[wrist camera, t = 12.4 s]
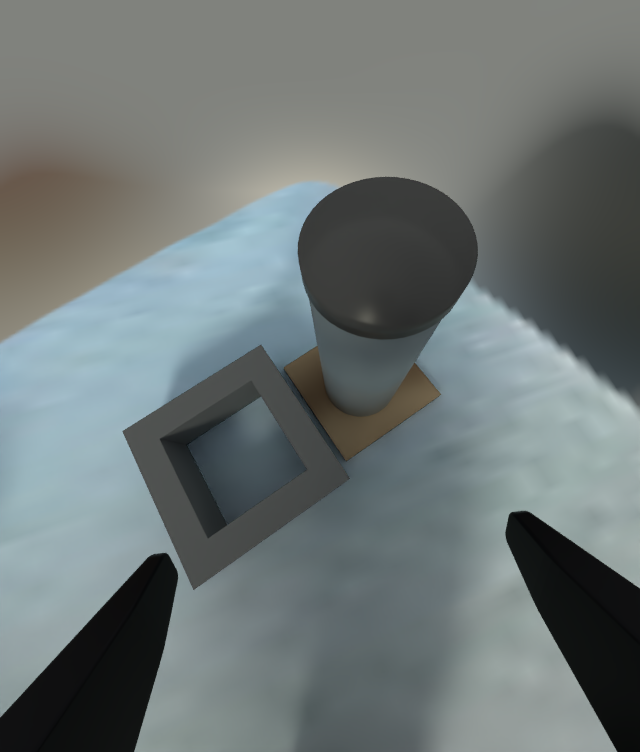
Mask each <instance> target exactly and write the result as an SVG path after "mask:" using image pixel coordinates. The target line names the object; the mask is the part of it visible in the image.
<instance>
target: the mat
mask: <svg viewBox="0 0 640 752" xmlns="http://www.w3.org/2000/svg"><path fill="white" fill-rule="evenodd" d="M284 370H285V371H286V373H287V374H288V376H289V377H290V379H291V380H292V382H293V383H294V385H295V386H296V388H297V389H298V391H299V392H300V393H301V395H302V396H303V398H304V399H305V401H306V402H307V404H308V405H309V407H310V408H311V410H312V411H313V413H314V414H315V416H316V417H317V419H318V420H319V422H320V423H321V425H322V426H323V428H324V429H325V431H326V432H327V434H328V435H329V437H330V438H331V440H332V441H333V443H334V444H335V446H336V447H337V449H338V450H339V452H340V453H341V454H342V456H343V457H344V459H345V460H346V461H347V460H349V459H350V458H352V457H353V456H355V455H356V454H357V453H359V452H360V451H362V450H363V449H364V448H366V447H367V446H369V445H370V444H372V443H373V442H374V441H376V440H377V439H379V438H380V437H382V436H383V435H384V434H386V433H387V432H389V431H390V430H392V429H393V428H394V427H396V426H397V425H399V424H400V423H401V422H403V421H404V420H406V419H407V418H409V417H410V416H411V415H413V414H414V413H416V412H417V411H419V410H420V409H421V408H423V407H424V406H426V405H427V404H429V403H430V402H431V401H433V400H434V399H436V398H437V397H439V396H440V395H441V394H440V393H439V391H438V390H437V389H436V388H435V387H434V385H433V384H432V383H431V382H430V381H429V379H428V378H427V377H426V376H425V375H424V373H423V372H422V371H421V370H420V369H419V367H418V366H417V365H416V364H415V363H414V364H413V366H412V367H411V369H410V370H409V372H408V374H407V375H406V377H405V378H404V380H403V382H402V383H401V385H400V386H399V388H398V390H397V391H396V393H395V394H394V396H393V398H392V399H391V401H390V402H389V403H388V405H387V406H386V407H385V408H384V409H382V410H381V411H379V412H378V413H375V414H373V415H370V416H364V417H358V416H352V415H348V414H346V413H344V412H342V411H340V410H339V409H338V408H336V407H335V406H334V405H333V403H332V402H331V401H330V399H329V397H328V395H327V393H326V389H325V384H324V378H323V373H322V367H321V362H320V356H319V351H318V346H316V347H315V348H313V349H312V350H310V351H309V352H307V353H305V354H304V355H302V356H301V357H299V358H298V359H296V360H295V361H293V362H291V363H290V364H288V365H287V366H285V367H284Z"/></svg>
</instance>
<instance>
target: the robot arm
mask: <svg viewBox="0 0 640 752" xmlns="http://www.w3.org/2000/svg"><path fill="white" fill-rule="evenodd" d="M505 535H506V540H507V543H508V545H509V548H510V550H511V552H512V554H513V556H514V559H515V561H516V563H517V565H518V568H519V570H520V572H521V574H522V576H523V579H524V581H525V583H526V585H527V588H528V590H529V592H530V594H531V597H532V599H533V601H534V603H535V605H536V607H537V609H538V611H539V613H540V615H541V616H542V618H543V620H544V622H545V624H546V625H547V627H548V629H549V631H550V633H551V634H552V636H553V638H554V640H555V642H556V643H557V645H558V647H559V649H560V650H561V652H562V654H563V656H564V658H565V659H566V661H567V663H568V665H569V666H570V668H571V670H572V672H573V674H574V675H575V677H576V679H577V681H578V683H579V684H580V686H581V688H582V690H583V691H584V693H585V695H586V697H587V699H588V700H589V702H590V704H591V706H592V708H593V709H594V711H595V713H596V715H597V716H598V718H599V720H600V722H601V724H602V725H603V727H604V729H605V731H606V732H607V734H608V736H609V738H610V740H611V741H612V743H613V745H614V747H615V749H616V750H617V752H640V588H638V587H637V586H636V585H634V584H633V583H631V582H630V581H628V580H627V579H625V578H624V577H623V576H621V575H620V574H618V573H617V572H615V571H614V570H612V569H611V568H610V567H608V566H607V565H605V564H604V563H602V562H601V561H599V560H598V559H597V558H595V557H594V556H592V555H591V554H589V553H588V552H586V551H585V550H584V549H582V548H581V547H579V546H578V545H576V544H575V543H573V542H572V541H571V540H569V539H568V538H566V537H565V536H563V535H562V534H560V533H559V532H558V531H556V530H555V529H553V528H552V527H550V526H549V525H547V524H546V523H545V522H543V521H542V520H540V519H539V518H537V517H536V516H534V515H533V514H532V513H530V512H528V511H517V512H511V513H510V514H509V517H508V522H507V527H506V532H505ZM177 581H178V573H177V570H176V568H175V566H174V564H173V562H172V560H171V558H170V556H169V555H168V554H167V553H160V554H153V555H151V556H149V557H148V558H147V559H146V560H145V561H144V562H143V563H142V564H141V566H140V567H139V568H138V569H137V570H136V571H135V572H134V573H133V574H132V575H131V576H130V577H129V579H128V580H127V581H126V582H125V583H124V584H123V585H122V586H121V587H120V588H119V589H118V591H117V592H116V593H115V594H114V595H113V596H112V597H111V598H110V599H109V600H108V601H107V602H106V604H105V605H104V606H103V607H102V608H101V609H100V610H99V611H98V612H97V613H96V614H95V615H94V617H93V618H92V619H91V620H90V621H89V622H88V623H87V624H86V625H85V626H84V627H83V628H82V630H81V631H80V632H79V633H78V634H77V635H76V636H75V637H74V638H73V639H72V640H71V641H70V643H69V644H68V645H67V646H66V647H65V648H64V649H63V650H62V651H61V652H60V653H59V655H58V656H57V657H56V658H55V659H54V660H53V661H52V662H51V663H50V664H49V665H48V666H47V668H46V669H45V670H44V671H43V672H42V673H41V674H40V675H39V676H38V677H37V678H36V679H35V681H34V682H33V683H32V684H31V685H30V686H29V687H28V688H27V689H26V690H25V691H24V692H23V694H22V695H21V696H20V697H19V698H18V699H17V700H16V701H15V702H14V703H13V704H12V705H11V707H10V708H9V709H8V710H7V711H6V712H5V713H4V714H3V715H2V716H1V717H0V752H134V750H135V747H136V743H137V740H138V737H139V733H140V730H141V726H142V723H143V719H144V716H145V713H146V709H147V706H148V702H149V699H150V695H151V692H152V689H153V685H154V682H155V678H156V675H157V671H158V668H159V665H160V661H161V657H162V654H163V650H164V646H165V641H166V637H167V632H168V627H169V622H170V617H171V612H172V607H173V602H174V597H175V592H176V587H177Z"/></svg>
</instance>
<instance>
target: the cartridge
mask: <svg viewBox="0 0 640 752" xmlns="http://www.w3.org/2000/svg"><path fill="white" fill-rule="evenodd" d="M477 256H478V247H477V240H476V235H475V232H474V229H473V226H472V224H471V223H470V221H469V219H468V217H467V216H466V215H465V213H464V212H463V210H462V209H461V208H460V207H459V206H458V205H457V204H456V203H455V202H454V201H453V200H452V199H450V198H449V197H448V196H447V195H445V194H444V193H442V192H440V191H439V190H437V189H435V188H433V187H431V186H429V185H427V184H424V183H421V182H418V181H414V180H410V179H405V178H398V177H376V178H369V179H363V180H360V181H356V182H353V183H350V184H347V185H345V186H343V187H341V188H339V189H337V190H335V191H333V192H332V193H330V194H329V195H327V196H326V197H325V198H324V199H322V200H321V201H320V202H319V203H318V204H317V205H316V206H315V207H314V208H313V210H312V211H311V212H310V214H309V215H308V217H307V218H306V220H305V222H304V224H303V226H302V229H301V232H300V236H299V241H298V258H299V265H300V270H301V275H302V280H303V284H304V288H305V291H306V293H307V295H308V297H309V301H310V306H311V312H312V317H313V323H314V329H315V334H316V340H317V345H318V351H319V356H320V362H321V367H322V373H323V378H324V384H325V389H326V393H327V395H328V397H329V399H330V401H331V402H332V403H333V405H334V406H335V407H336V408H338V409H339V410H340V411H342V412H344V413H346V414H348V415H352V416H358V417H364V416H370V415H373V414H375V413H378V412H379V411H381V410H382V409H384V408H385V407H386V406H387V405H388V403H389V402H390V401H391V399H392V398H393V396H394V394H395V393H396V391H397V390H398V388H399V386H400V385H401V383H402V382H403V380H404V378H405V377H406V375H407V374H408V372H409V370H410V369H411V367H412V366H413V364H414V363H415V361H416V359H417V358H418V356H419V355H420V353H421V351H422V350H423V348H424V347H425V345H426V343H427V342H428V340H429V339H430V337H431V336H432V334H433V332H434V331H435V329H436V328H437V326H438V324H439V323H440V321H441V320H442V319H443V318H444V317H445V316H446V315H447V314H448V313H449V312H450V311H451V309H452V308H453V306H454V305H455V304H456V302H457V301H458V299H459V298H460V296H461V294H462V293H463V291H464V290H465V288H466V287H467V285H468V284H469V282H470V280H471V278H472V276H473V273H474V270H475V267H476V262H477Z"/></svg>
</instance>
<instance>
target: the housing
mask: <svg viewBox="0 0 640 752" xmlns="http://www.w3.org/2000/svg"><path fill="white" fill-rule="evenodd" d="M259 397H262V398H263V400H264V402H265V403H266V405H267V406H268V408H269V410H270V411H271V413H272V414H273V416H274V418H275V419H276V421H277V422H278V424H279V426H280V427H281V429H282V430H283V432H284V434H285V435H286V437H287V438H288V440H289V442H290V443H291V445H292V446H293V448H294V450H295V451H296V453H297V454H298V456H299V458H300V459H301V461H302V462H303V464H304V466H305V467H306V469H307V470H306V471H305V472H303V473H302V474H300V475H299V476H297V477H296V478H294V479H293V480H292V481H290V482H289V483H287V484H286V485H284V486H283V487H281V488H280V489H279V490H277V491H276V492H274V493H273V494H271V495H270V496H268V497H267V498H266V499H264V500H263V501H261V502H260V503H258V504H257V505H256V506H254V507H253V508H251V509H250V510H248V511H247V512H245V513H244V514H243V515H241V516H240V517H238V518H237V519H235V520H234V521H232V522H231V523H230V524H228V525H227V524H226V522H225V520H224V518H223V516H222V514H221V512H220V510H219V508H218V506H217V504H216V502H215V500H214V498H213V496H212V494H211V492H210V490H209V488H208V486H207V484H206V482H205V481H204V479H203V477H202V475H201V473H200V471H199V469H198V467H197V465H196V463H195V461H194V459H193V457H192V455H191V453H190V451H189V449H188V447H187V444H188V443H190V442H191V441H193V440H194V439H196V438H197V437H199V436H200V435H202V434H204V433H205V432H207V431H208V430H210V429H211V428H213V427H214V426H216V425H217V424H219V423H221V422H222V421H224V420H225V419H227V418H228V417H230V416H231V415H233V414H234V413H236V412H238V411H239V410H241V409H242V408H244V407H245V406H247V405H248V404H250V403H251V402H253V401H255V400H256V399H258V398H259ZM123 434H124V436H125V438H126V440H127V443H128V445H129V447H130V449H131V451H132V454H133V456H134V458H135V460H136V463H137V465H138V467H139V469H140V472H141V474H142V476H143V478H144V480H145V483H146V485H147V487H148V489H149V492H150V494H151V496H152V498H153V501H154V503H155V505H156V507H157V509H158V512H159V514H160V516H161V518H162V521H163V523H164V525H165V527H166V529H167V532H168V534H169V536H170V538H171V541H172V543H173V545H174V547H175V550H176V552H177V554H178V556H179V558H180V561H181V563H182V565H183V567H184V570H185V572H186V574H187V576H188V578H189V581H190V583H191V585H192V587H193V590H194V589H196V588H197V587H198V586H200V585H201V584H203V583H204V582H205V581H207V580H208V579H210V578H211V577H213V576H214V575H215V574H217V573H218V572H220V571H221V570H222V569H224V568H225V567H227V566H228V565H229V564H231V563H232V562H234V561H235V560H236V559H238V558H239V557H241V556H242V555H243V554H245V553H246V552H248V551H249V550H250V549H252V548H253V547H255V546H256V545H257V544H259V543H260V542H262V541H263V540H264V539H266V538H267V537H269V536H270V535H272V534H273V533H274V532H276V531H277V530H279V529H280V528H281V527H283V526H284V525H286V524H287V523H288V522H290V521H291V520H293V519H294V518H295V517H297V516H298V515H300V514H301V513H302V512H304V511H305V510H307V509H308V508H309V507H311V506H312V505H314V504H315V503H316V502H318V501H319V500H321V499H322V498H324V497H325V496H326V495H328V494H329V493H331V492H332V491H333V490H335V489H336V488H338V487H339V486H340V485H342V484H343V483H345V482H346V481H347V480H349V479H350V478H349V476H348V475H347V473H346V472H345V470H344V469H343V467H342V466H341V464H340V463H339V461H338V460H337V458H336V457H335V455H334V454H333V452H332V451H331V449H330V448H329V446H328V445H327V443H326V442H325V440H324V439H323V437H322V436H321V434H320V433H319V431H318V430H317V428H316V427H315V425H314V424H313V422H312V421H311V419H310V418H309V416H308V415H307V413H306V412H305V410H304V409H303V407H302V406H301V404H300V403H299V401H298V400H297V398H296V397H295V395H294V394H293V392H292V391H291V389H290V388H289V386H288V385H287V383H286V382H285V380H284V379H283V377H282V376H281V374H280V373H279V371H278V370H277V368H276V366H275V365H274V363H273V362H272V360H271V359H270V357H269V356H268V354H267V353H266V351H265V350H264V348H263V347H262V345H260V346H258V347H256V348H255V349H253V350H252V351H250V352H248V353H247V354H245V355H244V356H242V357H240V358H239V359H237V360H236V361H234V362H232V363H231V364H229V365H228V366H226V367H224V368H223V369H221V370H220V371H218V372H216V373H215V374H213V375H212V376H210V377H208V378H207V379H205V380H204V381H202V382H200V383H199V384H197V385H196V386H194V387H192V388H191V389H189V390H188V391H186V392H184V393H183V394H181V395H180V396H178V397H176V398H175V399H173V400H172V401H170V402H168V403H167V404H165V405H164V406H162V407H160V408H159V409H157V410H156V411H154V412H152V413H151V414H149V415H148V416H146V417H144V418H143V419H141V420H140V421H138V422H136V423H135V424H133V425H132V426H130V427H128V428H127V429H125V430H124V431H123Z"/></svg>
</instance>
